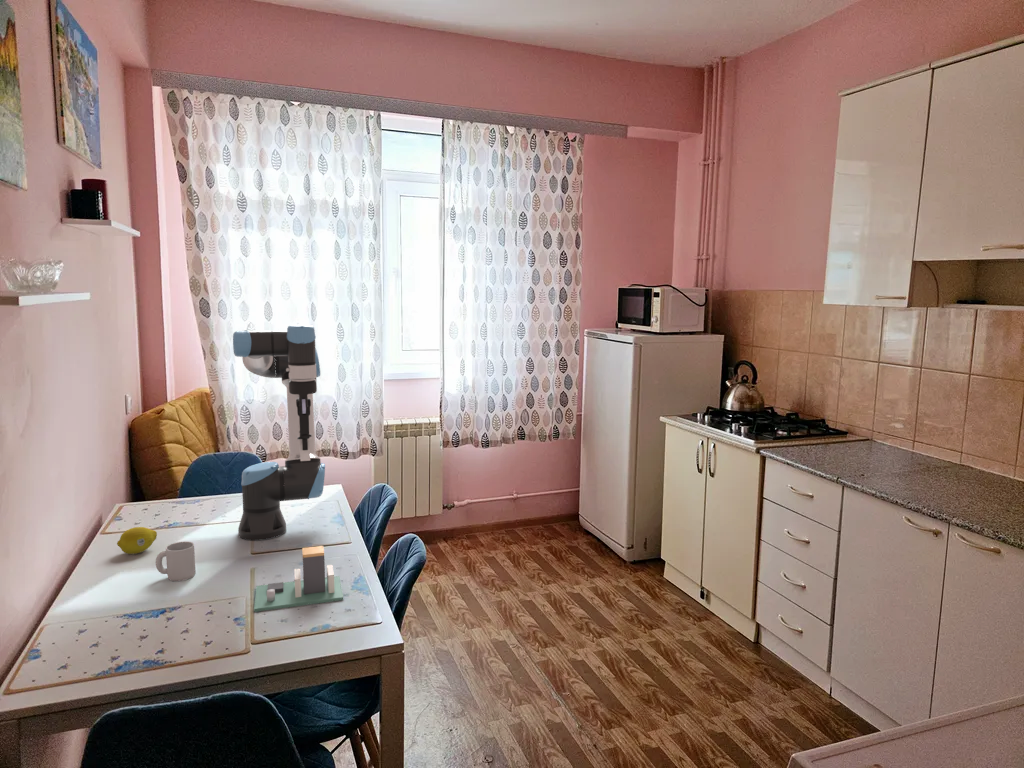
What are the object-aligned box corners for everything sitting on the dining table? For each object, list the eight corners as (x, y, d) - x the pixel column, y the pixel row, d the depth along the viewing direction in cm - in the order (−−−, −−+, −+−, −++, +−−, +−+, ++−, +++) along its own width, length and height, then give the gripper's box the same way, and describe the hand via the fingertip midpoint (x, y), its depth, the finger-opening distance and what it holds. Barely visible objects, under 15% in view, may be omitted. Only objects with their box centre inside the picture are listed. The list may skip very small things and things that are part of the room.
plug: (303, 586, 180) (302, 547, 179) (324, 583, 182) (323, 545, 181) (304, 594, 176) (302, 554, 174) (325, 591, 178) (324, 552, 176)
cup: (194, 579, 186) (192, 549, 185) (154, 584, 183) (152, 553, 182) (197, 569, 193) (195, 540, 192) (158, 574, 190) (156, 544, 189)
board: (256, 588, 181) (255, 568, 180) (339, 578, 188) (338, 558, 187) (254, 611, 168) (253, 590, 167) (343, 600, 175) (342, 579, 174)
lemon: (118, 560, 199) (116, 534, 198) (117, 551, 206) (115, 527, 205) (158, 553, 205) (157, 528, 204) (157, 545, 211) (155, 521, 210)
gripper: (288, 377, 193) (291, 455, 196) (288, 382, 181) (291, 466, 184) (315, 376, 195) (317, 454, 199) (317, 381, 183) (319, 464, 186)
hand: (305, 460), depth 191 cm, fingers closed
